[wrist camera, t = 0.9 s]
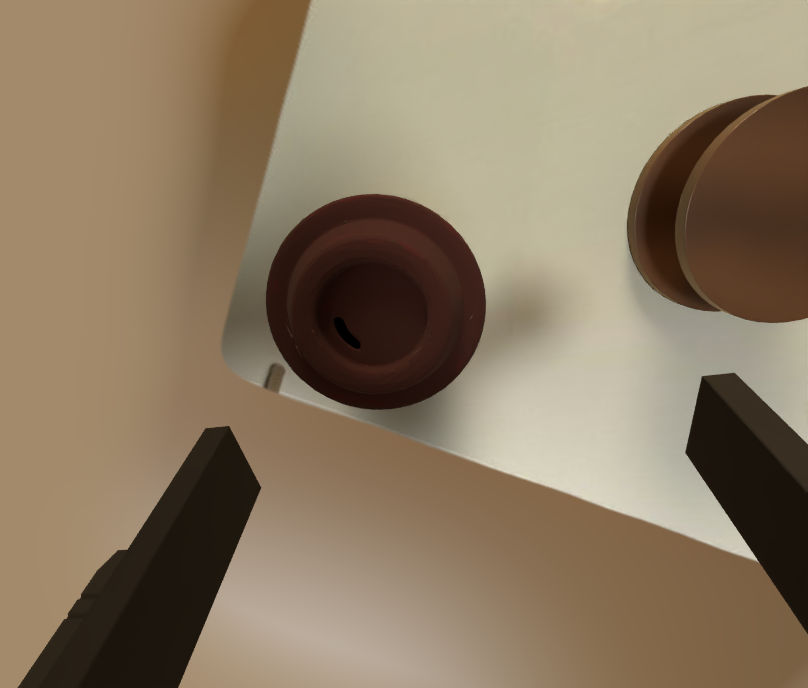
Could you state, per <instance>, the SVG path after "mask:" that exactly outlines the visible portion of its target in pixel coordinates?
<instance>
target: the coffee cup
mask: <svg viewBox="0 0 808 688" xmlns="http://www.w3.org/2000/svg"><path fill="white" fill-rule="evenodd" d="M266 310H267V317H268V322H269V326H270V330H271V333H272V336H273V339H274V341H275V343H276V345H277V347H278V349H279V351H280V352H281V354H282V356H283V358H284V359H285V361H286V362H287V363H288V365H289V366H290V367H291V369H292V370H293V371H294V372H295V373H296V374H297V375H298V376H299V377H300V378H301V379H302V380H303V381H304V382H305V383H307V384H308V385H309V386H310V387H312V388H313V389H314V390H316V391H317V392H319V393H321V394H323V395H324V396H326V397H328V398H330V399H332V400H335V401H337V402H339V403H342V404H345V405H348V406H353V407H357V408H363V409H371V410H383V409H395V408H401V407H405V406H409V405H412V404H415V403H418V402H421V401H423V400H425V399H427V398H430V397H431V396H433V395H434V394H436V393H438V392H439V391H441V390H442V389H444V388H445V387H446V386H448V385H449V384H450V383H451V382H452V381H453V380H454V379H455V378H456V377H457V376H458V375H459V374H460V373H461V371H462V370H463V369H464V368H465V366H466V365H467V364H468V362H469V361H470V359H471V357H472V356H473V354H474V352H475V350H476V348H477V345H478V343H479V340H480V337H481V334H482V331H483V326H484V321H485V313H486V298H485V288H484V283H483V279H482V275H481V272H480V269H479V266H478V264H477V261H476V259H475V257H474V255H473V253H472V252H471V250H470V248H469V246H468V245H467V243H466V242H465V241H464V239H463V238H462V237H461V235H460V234H459V233H458V232H457V231H456V230H455V229H454V228H453V227H452V226H451V225H450V224H449V223H448V222H447V221H445V220H444V219H443V218H442V217H440V216H439V215H438V214H436V213H435V212H433V211H431V210H430V209H428V208H426V207H424V206H422V205H420V204H418V203H415V202H413V201H410V200H407V199H404V198H400V197H396V196H390V195H381V194H365V195H356V196H350V197H346V198H342V199H339V200H336V201H333V202H331V203H329V204H327V205H324V206H323V207H321V208H319V209H317V210H316V211H314V212H313V213H311V214H310V215H308V216H307V217H306V218H304V219H303V220H302V221H301V222H300V223H299V224H298V225H297V226H296V227H295V228H294V229H293V230H292V231H291V232H290V233H289V234H288V236H287V237H286V238H285V240H284V241H283V243H282V244H281V246H280V248H279V250H278V252H277V254H276V256H275V258H274V260H273V262H272V266H271V269H270V273H269V277H268V282H267V291H266Z"/></svg>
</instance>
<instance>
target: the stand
mask: <svg viewBox="0 0 808 688" xmlns="http://www.w3.org/2000/svg"><path fill="white" fill-rule="evenodd" d="M628 239H629V245H630V250H631V253H632V256H633V259H634V262H635V264H636V266H637V268H638V270H639V272H640V273H641V275H642V276H643V277H644V279H645V280H646V281H647V282H648V283H649V285H650V286H651V287H652V288H653V289H655V290H656V291H657V292H658V293H660V294H661V295H662V296H664V297H666V298H668V299H670V300H671V301H673V302H676V303H679V304H681V305H684V306H687V307H690V308H693V309H698V310H703V311H723V312H726V313H729V314H731V315H734V316H737V317H740V318H743V319H746V320H751V321H756V322H766V323H779V322H790V321H796V320H801V319H805V318H808V86H807V87H803V88H800V89H797V90H793V91H790V92H787V93H784V94H781V95H755V96H748V97H743V98H739V99H735V100H732V101H729V102H726V103H723V104H720V105H717V106H714V107H712V108H710V109H708V110H706V111H704V112H702V113H699V114H698V115H696V116H695V117H693V118H691V119H690V120H688V121H687V122H685V123H684V124H683V125H682V126H680V127H679V128H678V129H677V130H675V131H674V132H673V133H672V134H671V135H670V136H669V137H668V138H667V139H666V140H665V141H664V142H663V143H662V144H661V145H660V146H659V148H658V149H657V150H656V152H655V153H654V154H653V155H652V157H651V158H650V160H649V161H648V163H647V165H646V166H645V168H644V169H643V171H642V173H641V175H640V178H639V180H638V182H637V184H636V187H635V190H634V192H633V195H632V199H631V204H630V208H629V215H628Z"/></svg>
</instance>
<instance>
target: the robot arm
mask: <svg viewBox="0 0 808 688" xmlns="http://www.w3.org/2000/svg"><path fill="white" fill-rule="evenodd" d="M685 453H686V454H687V456H688V457H689V459H690V460H691V462H692V463H693V465H694V466H695V468H696V469H697V471H698V472H699V474H700V475H701V477H702V478H703V480H704V481H705V483H706V484H707V486H708V487H709V489H710V490H711V491H712V493H713V494H714V496H715V497H716V499H717V500H718V502H719V503H720V505H721V506H722V508H723V509H724V511H725V512H726V514H727V515H728V517H729V518H730V520H731V521H732V523H733V524H734V526H735V527H736V528H737V530H738V531H739V533H740V534H741V536H742V537H743V539H744V540H745V542H746V543H747V545H748V546H749V548H750V549H751V551H752V552H753V554H754V555H755V557H756V558H757V560H758V561H759V563H760V564H761V565H762V567H763V568H764V570H765V571H766V573H767V574H768V576H769V577H770V578H771V580H772V582H773V583H774V585H775V586H776V588H777V589H778V591H779V592H780V594H781V595H782V596H783V598H784V599H785V601H786V602H787V604H788V605H789V607H790V608H791V610H792V611H793V613H794V614H795V616H796V617H797V619H798V620H799V622H800V623H801V624H802V626H803V628H804V629H805V630H806V632H807V633H808V444H807V443H806V442H805V441H804V440H803V439H802V438H801V437H800V436H799V435H798V434H797V433H796V432H795V431H794V430H793V429H792V428H791V427H789V426H788V425H787V424H786V423H785V422H784V421H783V420H782V419H781V418H780V417H779V416H778V415H777V414H776V413H775V412H774V411H773V410H772V409H771V408H770V407H769V406H768V405H767V404H766V403H765V402H764V401H763V400H762V399H761V398H760V397H759V396H758V395H757V394H756V393H755V392H754V391H753V390H752V389H751V388H750V387H748V386H747V385H746V384H745V383H744V382H743V381H742V380H741V379H740V378H739V377H738V376H737V375H736V374H735V373H729V374H720V375H710V376H702V379H701V384H700V388H699V393H698V397H697V402H696V406H695V411H694V415H693V420H692V425H691V429H690V434H689V438H688V443H687V447H686V452H685ZM260 489H261V487H260V484H259V483H258V481H257V479H256V477H255V475H254V473H253V471H252V469H251V467H250V465H249V463H248V461H247V460H246V458H245V456H244V454H243V452H242V450H241V448H240V446H239V444H238V442H237V440H236V438H235V437H234V435H233V433H232V431H231V429H230V427H229V426H225V427H215V428H206V429H205V430H204V432H203V433H202V435H201V437H200V438H199V440H198V441H197V443H196V445H195V446H194V447H193V449H192V451H191V452H190V453H189V455H188V457H187V458H186V460H185V461H184V463H183V464H182V466H181V467H180V469H179V471H178V472H177V474H176V475H175V477H174V478H173V480H172V482H171V483H170V485H169V486H168V488H167V489H166V491H165V492H164V494H163V496H162V497H161V499H160V500H159V502H158V503H157V505H156V506H155V508H154V509H153V511H152V513H151V514H150V516H149V517H148V519H147V521H146V522H145V523H144V525H143V527H142V528H141V530H140V531H139V533H138V534H137V536H136V537H135V539H134V541H133V542H132V544H131V545H130V547H129V548H128V550H118V551H117V552H116V553H115V554H114V555H113V556H112V557H111V558H110V559H109V560H108V561H107V562H106V563H105V564H104V565H103V566H102V567H101V568H100V569H98V570H97V572H96V573H95V575H94V576H93V578H92V579H91V580H90V582H89V583H88V585H87V586H86V588H85V589H84V591H83V592H82V594H81V598H80V599H79V600H77V601H76V603H75V604H74V606H73V607H72V609H71V610H70V611H69V613H68V617H67V619H64V620H63V622H62V623H61V625H60V626H59V628H58V629H57V631H56V632H55V634H54V635H53V637H52V638H51V639H50V641H49V642H48V644H47V645H46V647H45V649H44V650H43V651H42V653H41V654H40V656H39V657H38V659H37V660H36V662H35V663H34V665H33V666H32V667H31V669H30V670H29V672H28V673H27V675H26V676H25V678H24V679H23V681H22V682H21V684H20V685H19V687H18V688H178V687H179V684H180V682H181V679H182V677H183V675H184V672H185V670H186V667H187V665H188V662H189V660H190V658H191V655H192V653H193V651H194V648H195V646H196V643H197V641H198V638H199V636H200V634H201V631H202V629H203V627H204V624H205V622H206V619H207V617H208V614H209V612H210V610H211V607H212V605H213V602H214V600H215V597H216V595H217V593H218V590H219V588H220V586H221V583H222V581H223V578H224V576H225V573H226V571H227V569H228V566H229V564H230V562H231V559H232V557H233V554H234V552H235V549H236V547H237V544H238V542H239V540H240V537H241V535H242V533H243V530H244V528H245V525H246V523H247V521H248V518H249V516H250V513H251V511H252V508H253V506H254V504H255V501H256V499H257V496H258V494H259V491H260Z"/></svg>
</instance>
